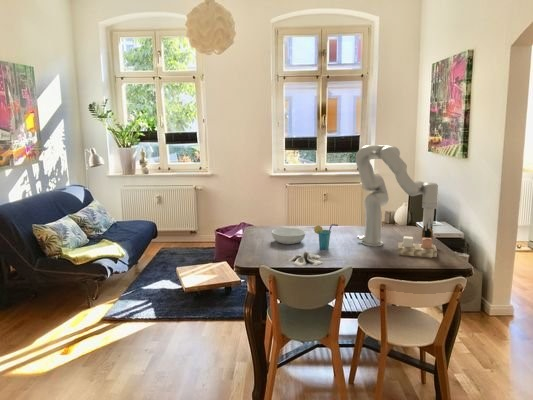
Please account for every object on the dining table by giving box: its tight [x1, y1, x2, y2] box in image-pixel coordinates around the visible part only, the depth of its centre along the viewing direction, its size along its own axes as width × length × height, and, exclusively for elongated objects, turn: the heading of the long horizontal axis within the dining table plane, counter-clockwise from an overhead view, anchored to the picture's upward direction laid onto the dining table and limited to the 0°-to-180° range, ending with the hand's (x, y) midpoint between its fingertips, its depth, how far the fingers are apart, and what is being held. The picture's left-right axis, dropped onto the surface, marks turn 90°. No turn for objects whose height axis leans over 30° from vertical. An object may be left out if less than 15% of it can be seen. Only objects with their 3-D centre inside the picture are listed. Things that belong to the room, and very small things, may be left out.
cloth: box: [288, 250, 323, 267], centre depth 226 cm, size 22×19×6 cm
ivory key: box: [402, 235, 414, 247], centre depth 240 cm, size 5×5×6 cm
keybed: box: [397, 241, 438, 259], centre depth 239 cm, size 20×12×4 cm, turn 74°
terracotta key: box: [421, 237, 433, 249], centre depth 237 cm, size 5×5×6 cm
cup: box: [313, 223, 339, 251], centre depth 246 cm, size 14×8×15 cm, turn 97°
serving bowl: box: [271, 227, 306, 245], centre depth 261 cm, size 21×21×7 cm
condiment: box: [418, 225, 434, 245], centre depth 254 cm, size 7×8×12 cm
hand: (427, 237), depth 236 cm, fingers closed
